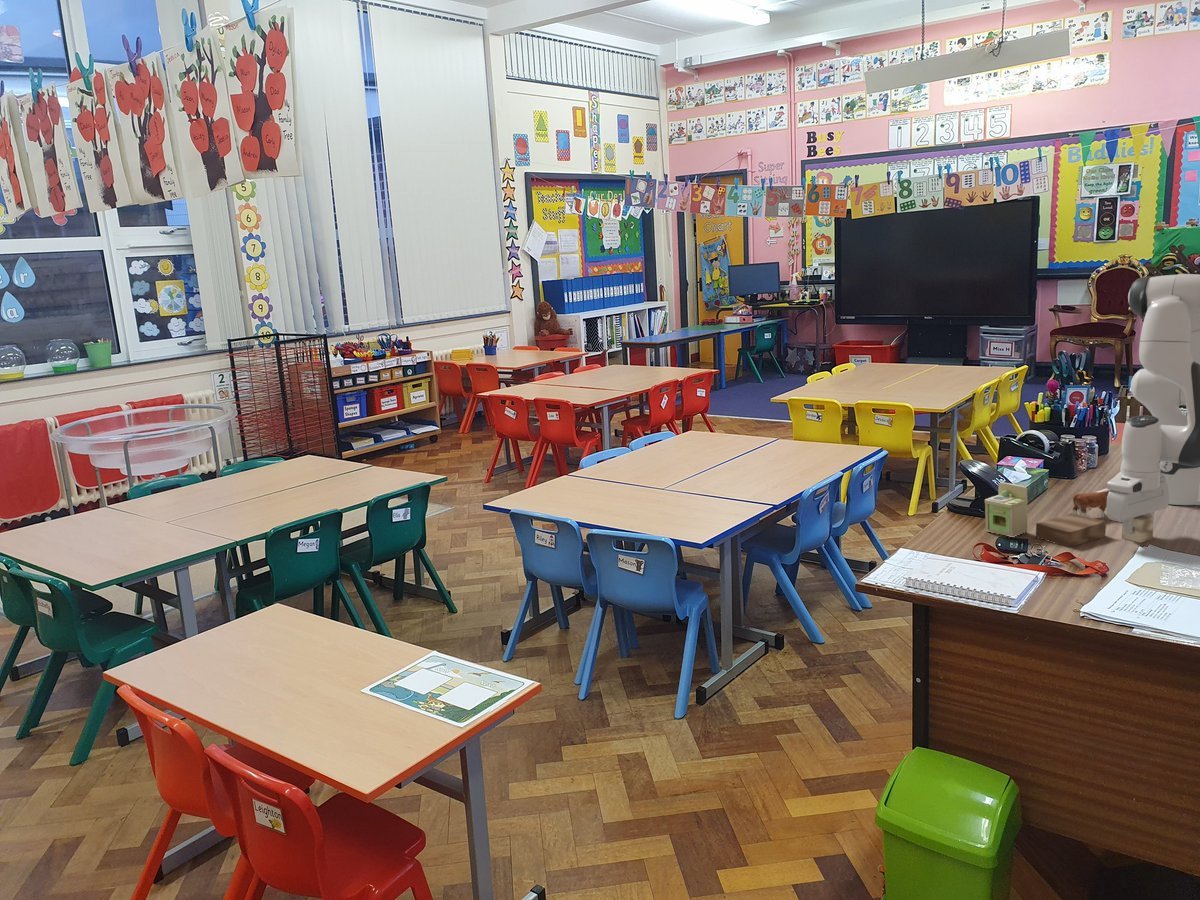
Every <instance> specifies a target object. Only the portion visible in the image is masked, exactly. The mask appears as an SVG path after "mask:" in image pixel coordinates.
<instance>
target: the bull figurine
mask: <svg viewBox="0 0 1200 900" xmlns="http://www.w3.org/2000/svg"><path fill="white" fill-rule="evenodd" d="M1109 491H1111V490H1109V489H1107V488H1103V489H1101V490H1097V491H1094V492H1093V491H1092V492H1085V493H1083V492H1082V493H1077V494H1075V495H1073V497H1072V503H1073V505H1074V506H1073V508H1072V510H1073V514H1077V515H1081V516H1085V517H1089V518H1091V517H1090V516H1089V515H1088V513H1087V509H1088V510H1089V511H1091V510H1092V509H1096V508H1098V509H1099V516H1100V517H1101V518H1105V511H1106V509H1107V496H1108V493H1109Z"/></svg>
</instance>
